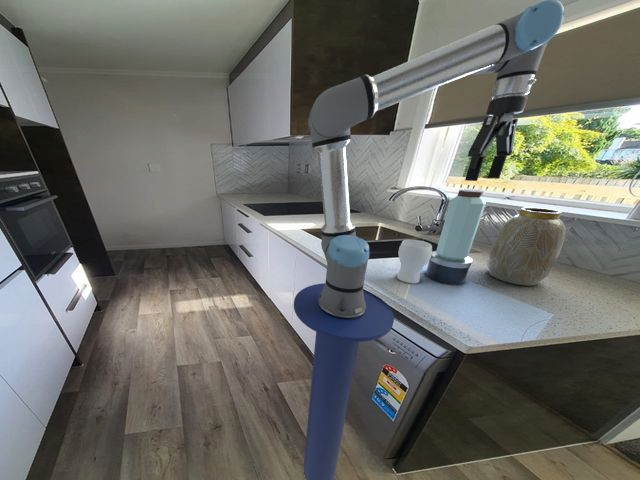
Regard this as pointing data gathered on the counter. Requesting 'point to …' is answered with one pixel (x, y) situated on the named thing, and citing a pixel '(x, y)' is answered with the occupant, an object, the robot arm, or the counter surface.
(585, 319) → the counter surface
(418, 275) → the cup
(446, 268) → the navy round container
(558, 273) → the counter surface
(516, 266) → the vase
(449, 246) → the water bottle
